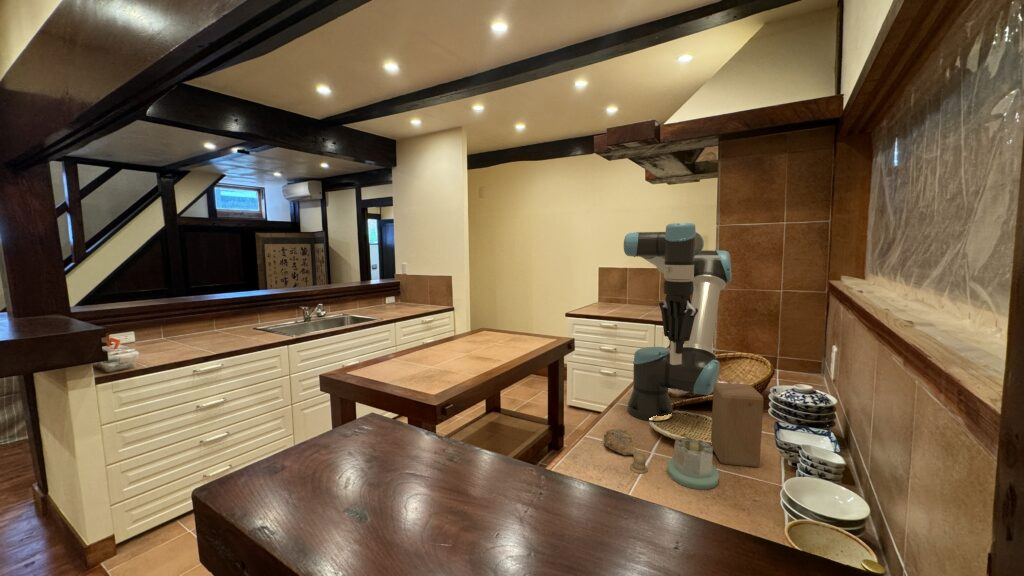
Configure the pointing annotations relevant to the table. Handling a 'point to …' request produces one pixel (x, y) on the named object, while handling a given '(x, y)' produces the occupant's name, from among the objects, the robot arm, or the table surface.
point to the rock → (619, 441)
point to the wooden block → (737, 424)
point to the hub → (693, 482)
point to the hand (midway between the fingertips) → (675, 363)
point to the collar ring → (693, 457)
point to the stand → (639, 463)
